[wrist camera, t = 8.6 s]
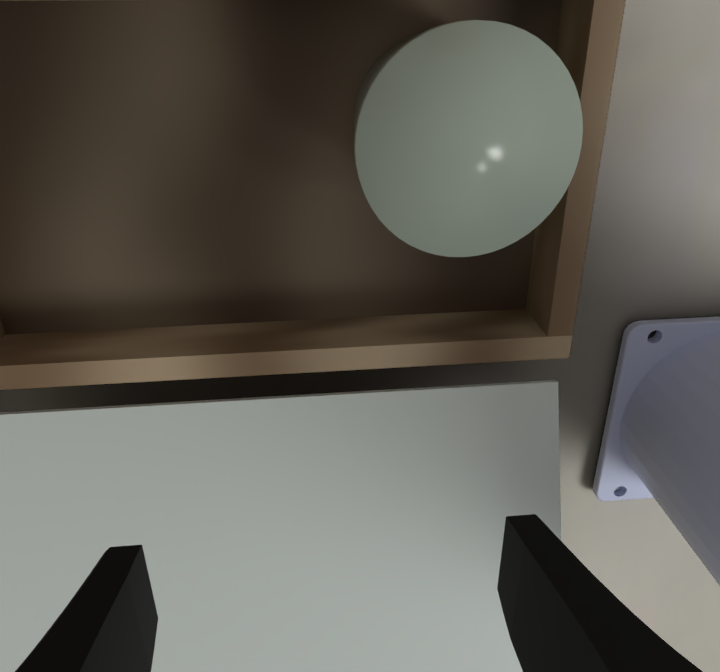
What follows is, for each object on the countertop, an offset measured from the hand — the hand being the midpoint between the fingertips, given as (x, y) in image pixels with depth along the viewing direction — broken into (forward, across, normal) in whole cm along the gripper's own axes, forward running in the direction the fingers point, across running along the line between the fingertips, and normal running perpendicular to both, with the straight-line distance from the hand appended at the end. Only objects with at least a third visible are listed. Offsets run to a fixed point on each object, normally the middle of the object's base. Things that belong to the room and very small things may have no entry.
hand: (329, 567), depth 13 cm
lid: (+5, +1, +5) cm, 8 cm away
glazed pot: (+10, -4, -7) cm, 13 cm away
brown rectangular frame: (+10, +1, -1) cm, 11 cm away
